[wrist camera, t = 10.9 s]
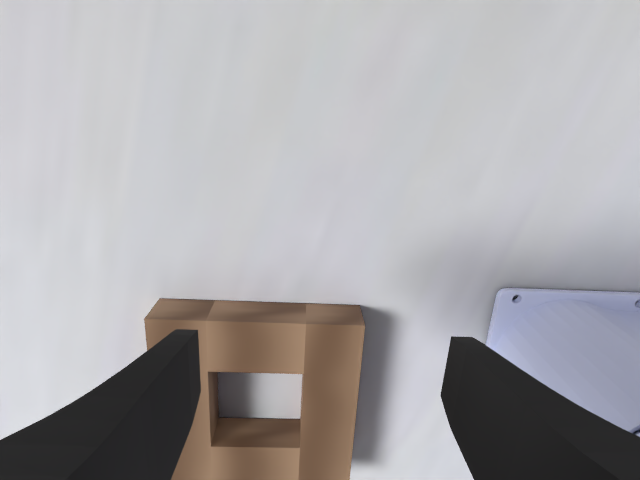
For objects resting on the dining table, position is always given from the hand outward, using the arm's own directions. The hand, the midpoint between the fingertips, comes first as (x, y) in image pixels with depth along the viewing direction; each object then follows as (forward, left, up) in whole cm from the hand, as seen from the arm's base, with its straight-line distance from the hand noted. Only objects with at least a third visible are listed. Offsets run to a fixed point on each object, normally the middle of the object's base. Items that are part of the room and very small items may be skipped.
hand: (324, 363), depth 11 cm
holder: (+3, +9, -10) cm, 14 cm away
